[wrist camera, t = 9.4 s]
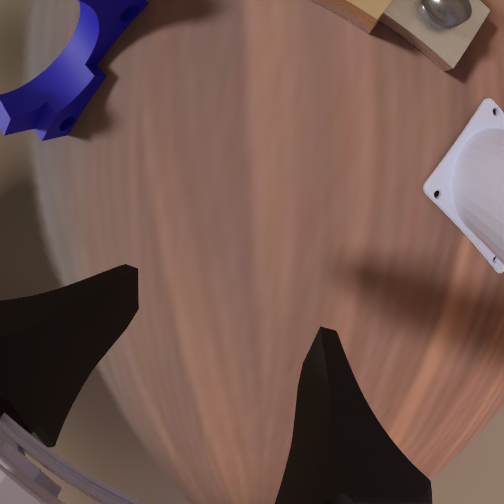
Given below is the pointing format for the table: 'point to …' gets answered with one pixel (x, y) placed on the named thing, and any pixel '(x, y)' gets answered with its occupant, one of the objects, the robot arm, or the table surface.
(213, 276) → the table surface
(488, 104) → the robot arm
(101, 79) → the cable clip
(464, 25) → the square frame connector
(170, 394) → the table surface
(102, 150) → the table surface
